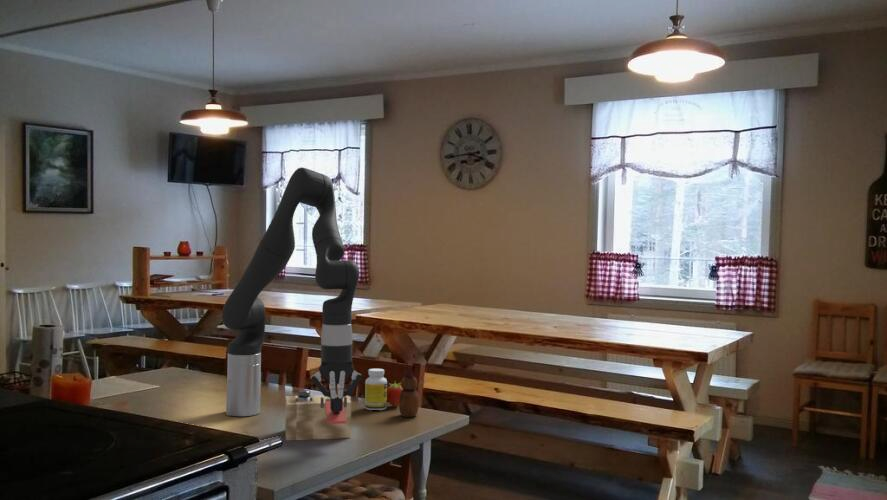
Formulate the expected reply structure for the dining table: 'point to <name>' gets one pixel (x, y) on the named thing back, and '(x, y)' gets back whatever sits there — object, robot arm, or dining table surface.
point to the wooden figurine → (408, 395)
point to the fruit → (394, 394)
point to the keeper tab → (334, 415)
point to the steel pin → (303, 395)
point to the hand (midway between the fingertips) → (336, 412)
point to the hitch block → (314, 419)
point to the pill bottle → (376, 390)
